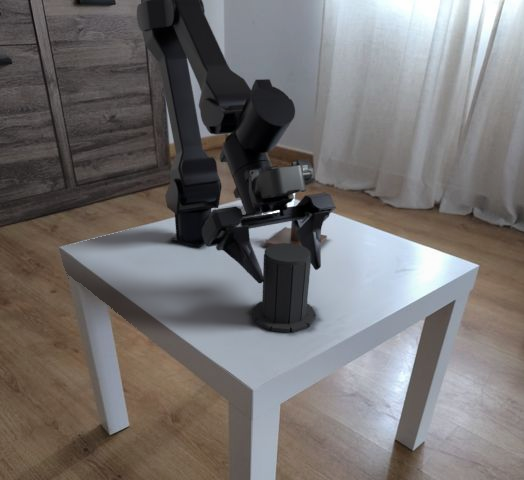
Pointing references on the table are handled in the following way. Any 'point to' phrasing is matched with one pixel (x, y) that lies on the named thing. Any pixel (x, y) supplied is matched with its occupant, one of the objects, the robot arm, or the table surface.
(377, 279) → the table surface
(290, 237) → the hat stand
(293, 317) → the hat
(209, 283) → the table surface
